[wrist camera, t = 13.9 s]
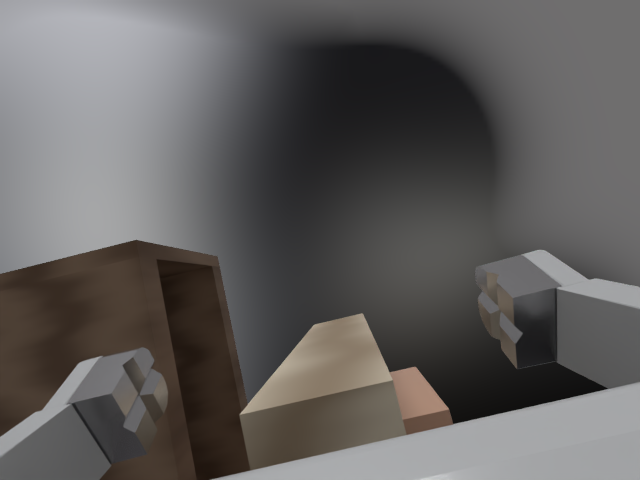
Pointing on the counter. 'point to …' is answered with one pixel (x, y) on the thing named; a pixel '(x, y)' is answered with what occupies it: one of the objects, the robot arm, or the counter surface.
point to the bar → (323, 398)
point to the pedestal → (419, 402)
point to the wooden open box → (126, 334)
